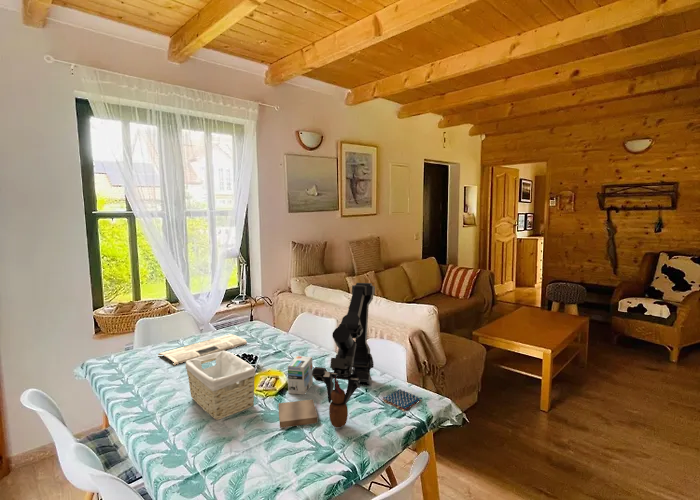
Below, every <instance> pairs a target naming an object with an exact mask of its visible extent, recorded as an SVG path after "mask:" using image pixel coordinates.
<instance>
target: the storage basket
mask: <svg viewBox="0 0 700 500" xmlns="http://www.w3.org/2000/svg"><path fill="white" fill-rule="evenodd" d="M213 361H215V365H212V366H209V367H206V368H203V366H202V365H203V364H206V363H210V362H213ZM185 369H186V373H187V378H188V384H189V392H190V397H191V399H192V400H194V401H195V403H196V404H197V405H198V406H200V408H201V409H203V411H204V412H206V413H207V414H208V415H209V416H210V417H212V418H213V419H214V420H215V421H218V420H222V419H225V418H227V417H229V416H231V415H235V414H237V413H240V412H242V411H244V410H248V409H250V408H251V407H253V406H254V402H255V400H254V399H255V397H254V396H255V376H256V370H255V367H254V366H253V365H251V364H250V363H249V362H247V361H246V360H243V359H242V358H240V357H239V356H237V355H235V354H234V353H232V352H229V351H227V350H223V351H220V352H216V353H212V354H208V355H205V356H201V357H197V358H194V359H191V360H188V361H186V362H185Z"/></svg>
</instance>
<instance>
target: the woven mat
mask: <svg viewBox="0 0 700 500" xmlns="http://www.w3.org/2000/svg"><path fill="white" fill-rule="evenodd" d="M382 400H383V401H382V403H385V404H386V405H390V406H392V407H395V408H396V409H399V410H400V411H401V410H402V412H405V411H408V410H409V409H410V408H412V406H413V405H414V406H415V404H416V403H417V402H418V401H419V402H418V403H417V404H419V403H420V401H421V402H422V397H419V396H418V395H417V396H416V395H415V394H412V393H411V392H409V391H405V390H404V389H397V390H396V391H394V392H391V393H389V394H388V395H386V396H383V398H382ZM417 404H416V405H417ZM410 406H411V407H410ZM414 406H413V407H414Z"/></svg>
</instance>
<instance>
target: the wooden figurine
mask: <svg viewBox="0 0 700 500" xmlns="http://www.w3.org/2000/svg"><path fill="white" fill-rule="evenodd" d="M345 395H346V391H345V390H344V389H342V388H341V387H340V384H339V379H336V376H335V379H334V388H333V391H332V392H331V403H329V409H328V410H329V411H328V415H329V421H330V423H331V425H332V427H334V428H337V429H339V428H343V427H344V426H346V424H347V421H348V416H349V414H348V413H349V411H348V405H347V404H346V405H344V399H345Z"/></svg>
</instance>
